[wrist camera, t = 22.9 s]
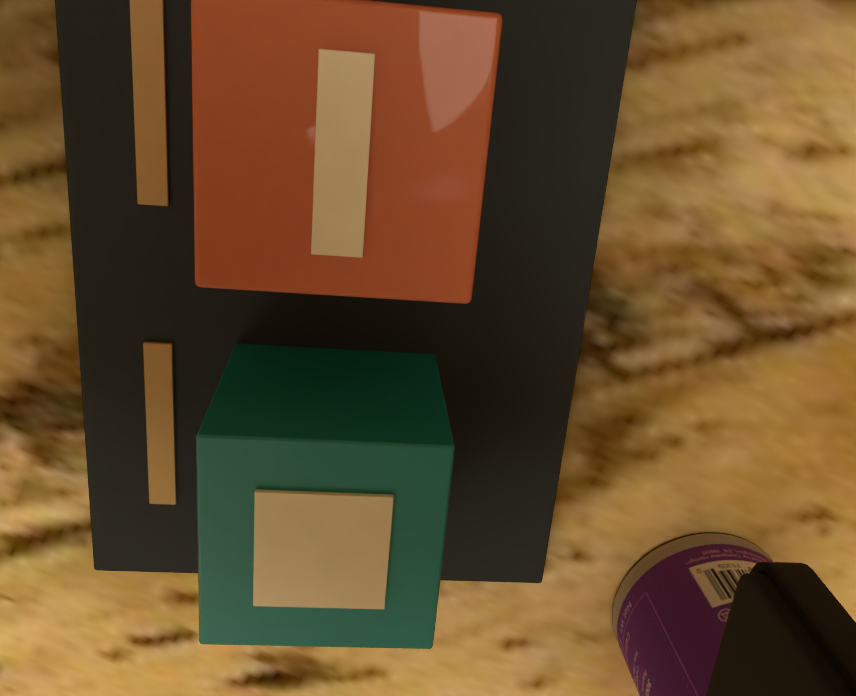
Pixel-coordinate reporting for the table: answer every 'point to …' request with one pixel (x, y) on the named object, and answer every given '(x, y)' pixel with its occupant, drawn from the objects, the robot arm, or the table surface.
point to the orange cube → (340, 146)
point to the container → (680, 611)
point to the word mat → (326, 314)
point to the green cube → (323, 499)
